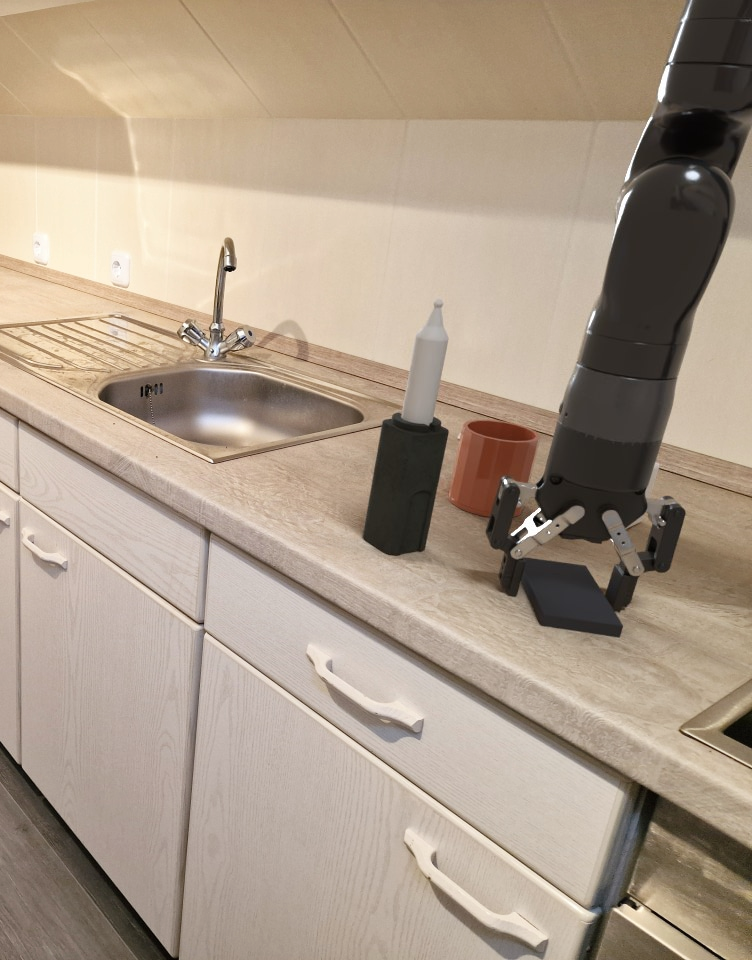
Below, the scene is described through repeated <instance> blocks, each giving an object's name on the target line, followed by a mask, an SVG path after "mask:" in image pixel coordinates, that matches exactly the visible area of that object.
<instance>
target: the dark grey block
mask: <svg viewBox="0 0 752 960" xmlns="http://www.w3.org/2000/svg"><path fill="white" fill-rule="evenodd" d="M524 558H525V560H526V563H525V567H524V571H523V574H522V578H521V582H520V584H521V586H522V587H523V590H524V592H525V594H526V597H527V599H528V601H529V604H530V605H531V608H532V611H533V612H534V615H535V617H536V619H537V621H538V623H539V625H540V626H541V627H546V628H551V629H552V628H553V629H558V630H566V631H573V632H580V633H586V634H594V635H599V636H606V637H613V638H621V636H622V635H621V634H622V631H623V629H624V625H623V623H622V621H621V620H620V618H619V616H618V615H617V612H615V611H614V610H613V609H612V607H611V605H610V604H609V602H608V600H607V599H606V597H605V594H604V592H603V591H602V589H601V588H600V586H599V583H597V581H596V579H595V578H594V576H593V574H592V573H591V571H590V569H589V568H588V567H587V565H584V564H577V563H571V562H563V561H555V560H547V559H540V558H532V557H527V556H525V557H524Z"/></svg>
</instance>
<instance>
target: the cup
mask: <svg viewBox="0 0 752 960" xmlns="http://www.w3.org/2000/svg"><path fill="white" fill-rule="evenodd" d="M541 438H542V436H541V435H540V433H539V432H537V431H535V430H534V429H532V428H530V427H527V426H524V425H521V424H518V423H513V422H510V421H504V420H496V419H471V420H467V421H465V422H464V423H463V424H462V426H461V431H460V436H459V442H458V445H457V449H456V450H457V451H456V456H455V460H454V465H453V470H452V475H451V479H450V484H449V489H448V501H449V502H450V503H451V504H452V505H453V506H455V507H457V508H458V509H460V510H463V511H465V512H468V513H470V514H473V515H476V516H477V515H478V516H482V517H488V518H489V517H490V514H491V510H492V507H493V503H494V499H495V496H496V492H497V489H498V485H499V482H500V479H501V478H502V477H503V476H507V475H508V476H512V477H513V478H514V480H515V481H518V482H524V483H531V479H532V476H533V471H534V467H535V462H536V459H537V455H538V451H539V446H540V442H541ZM524 506H525V504H524V505H523V506H522V507H520V508H516V509H515V513H514V516H513V518H515V517H519V515H520V514H522V513H523V510H524Z"/></svg>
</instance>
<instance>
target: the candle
mask: <svg viewBox="0 0 752 960" xmlns="http://www.w3.org/2000/svg"><path fill="white" fill-rule="evenodd" d="M443 306H444V302H443V300H442V299H440V298H439V299H438V298H437V299H436V300H434V301H433V308H432V311H431V313H430V314H429V316H428V318H427V320H426V322H425V323H424V325H423V326H422V327H421V328H420V329H419V330H418V332H416V334H415V336H414V344H413V349H412V355H411V359H410V365H409V370H408V371H409V372H408V376H407V381H406V388H405V393H404V399H403V404H402V410H401V412H396V413H393V414H392V416H391V418H386V419H383V420H382V423H381V429H380V433H379V438H378V445H377V446H378V447H377V450H376V451H377V452H376V456H375V457H376V458H375V462H374V468H373V475H372V480H371V486H370V490H369V491H370V492H369V497H368V503H367V509H366V515H365V521H364V526H363V532H362V539H363V540H364V541H366V542H367V543H368V544H370V545H372V546H373V547H375V548H376V549H378V550H379V551H380V552H382V553H384V554H386V555H390V556H401V555H402V554H407V553H415V552H423V551H425V550H426V547H427V542H428V541H427V540H428V536H429V532H430V527H431V521H432V517H433V512H434V507H435V501H436V498H437V492H438V487H439V482H440V479H441V472H442V467H443V462H444V458H445V453H446V448H447V444H448V438H449V434H450V430H449V429H447V427H444V426H442V420H440V419H439V418H438V417H435V411H436V406H437V400H438V395H439V391H440V386H441V381H442V380H441V379H442V375H443V369H444V364H445V361H446V360H445V359H446V354H447V350H448V349H447V348H448V343H449V336H448V333H447V330H446V328H445V327H444V320H443V310H442V307H443Z"/></svg>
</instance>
